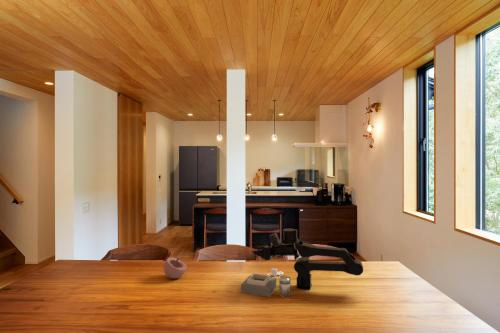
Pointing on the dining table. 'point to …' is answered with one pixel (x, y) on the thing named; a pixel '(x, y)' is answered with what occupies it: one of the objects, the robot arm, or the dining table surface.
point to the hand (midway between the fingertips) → (255, 250)
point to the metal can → (284, 286)
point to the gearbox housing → (259, 285)
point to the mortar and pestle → (174, 267)
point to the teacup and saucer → (275, 273)
